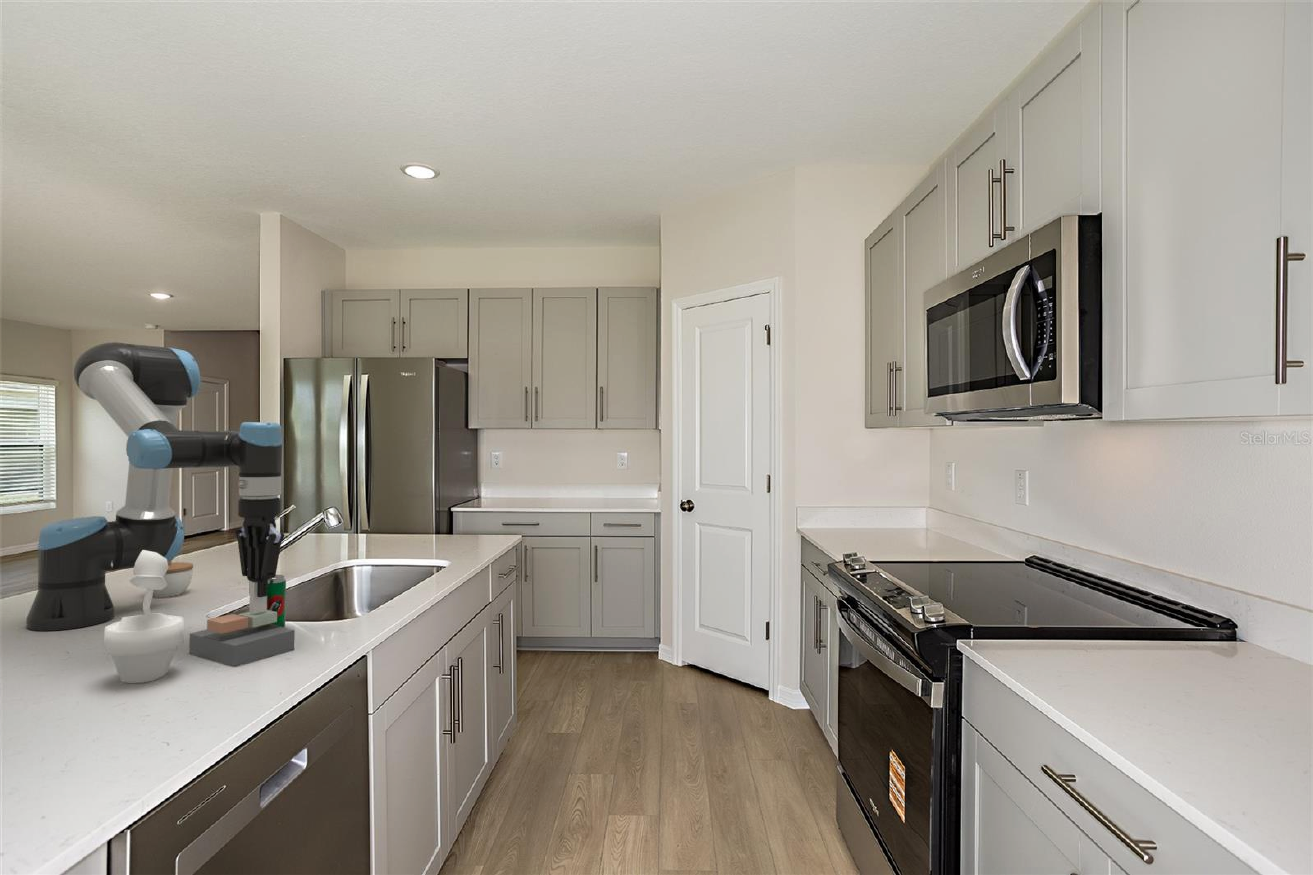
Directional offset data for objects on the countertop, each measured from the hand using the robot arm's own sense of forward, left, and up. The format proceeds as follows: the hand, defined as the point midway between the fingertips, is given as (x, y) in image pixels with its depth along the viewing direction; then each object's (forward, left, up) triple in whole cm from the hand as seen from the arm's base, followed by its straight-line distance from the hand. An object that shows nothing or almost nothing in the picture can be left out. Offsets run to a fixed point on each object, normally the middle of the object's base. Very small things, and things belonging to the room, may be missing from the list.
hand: (258, 612), depth 138 cm
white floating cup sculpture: (0, -21, -8) cm, 22 cm away
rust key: (0, -6, -2) cm, 6 cm away
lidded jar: (-63, +15, -8) cm, 65 cm away
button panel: (0, -3, -7) cm, 8 cm away
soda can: (-9, +9, -8) cm, 15 cm away
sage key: (0, 0, -2) cm, 2 cm away
